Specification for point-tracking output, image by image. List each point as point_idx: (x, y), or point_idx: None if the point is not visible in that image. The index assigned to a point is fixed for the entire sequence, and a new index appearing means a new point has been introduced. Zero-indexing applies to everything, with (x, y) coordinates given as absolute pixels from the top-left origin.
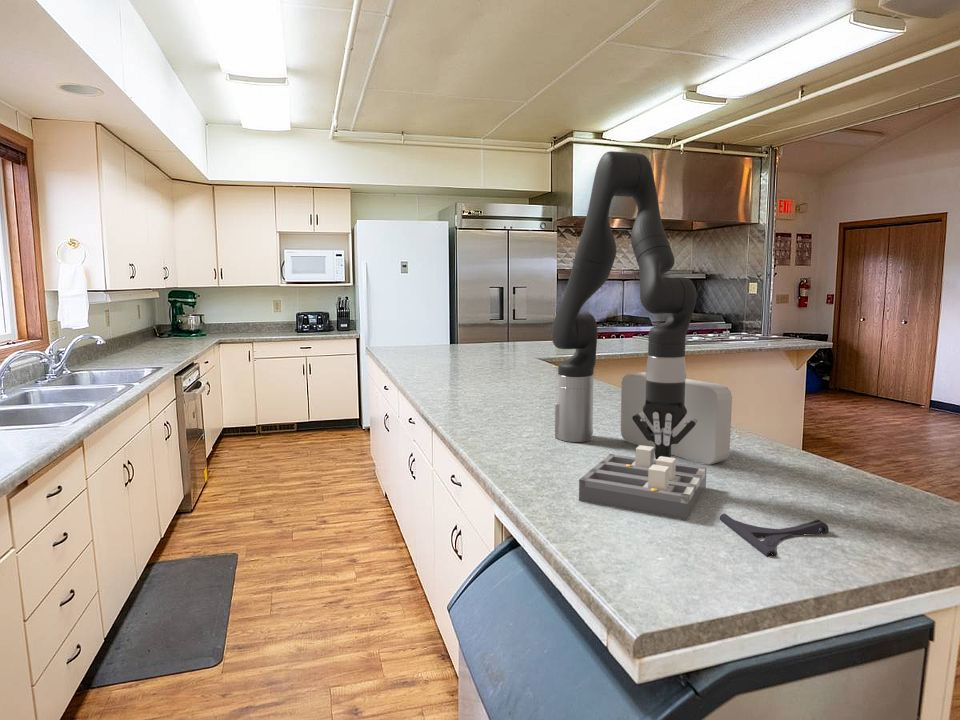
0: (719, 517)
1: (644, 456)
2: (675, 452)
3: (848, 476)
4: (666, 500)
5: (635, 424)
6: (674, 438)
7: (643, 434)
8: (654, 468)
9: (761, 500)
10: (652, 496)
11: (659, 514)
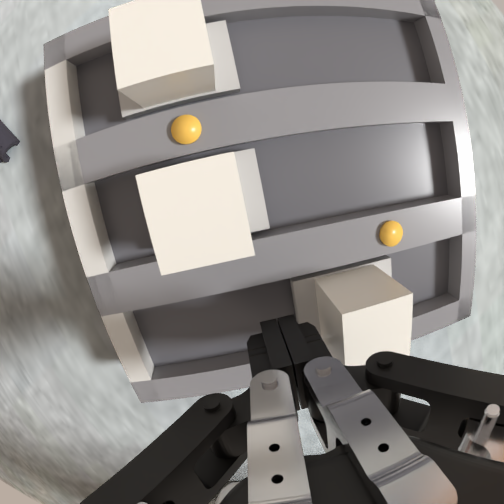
0: (16, 140)
1: (357, 291)
2: None
3: (48, 497)
4: None
5: None
6: (221, 417)
7: (425, 360)
8: (174, 10)
9: (22, 345)
10: None
11: None
